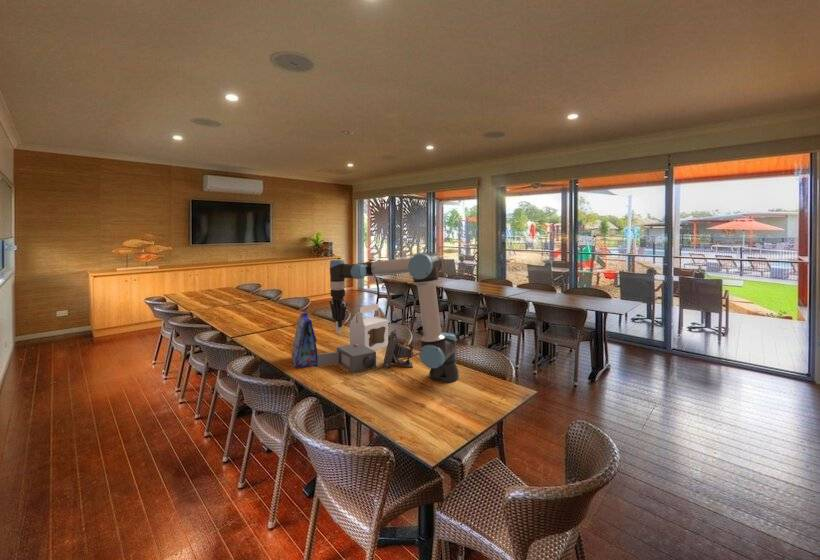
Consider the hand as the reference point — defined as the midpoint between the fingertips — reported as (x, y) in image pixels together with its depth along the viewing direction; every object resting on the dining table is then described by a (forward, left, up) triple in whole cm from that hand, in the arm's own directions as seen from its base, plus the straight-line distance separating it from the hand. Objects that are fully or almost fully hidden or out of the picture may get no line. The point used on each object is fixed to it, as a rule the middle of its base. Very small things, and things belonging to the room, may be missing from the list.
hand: (338, 332), depth 206 cm
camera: (-12, -31, -21) cm, 39 cm away
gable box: (+27, -34, -21) cm, 48 cm away
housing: (+2, -11, -21) cm, 23 cm away
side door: (+8, +2, -19) cm, 21 cm away
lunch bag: (+24, +10, -21) cm, 33 cm away
